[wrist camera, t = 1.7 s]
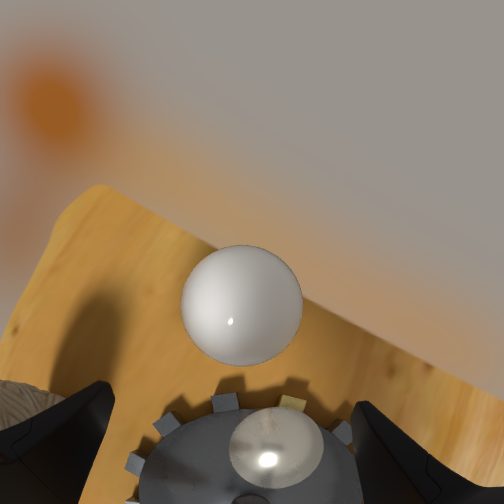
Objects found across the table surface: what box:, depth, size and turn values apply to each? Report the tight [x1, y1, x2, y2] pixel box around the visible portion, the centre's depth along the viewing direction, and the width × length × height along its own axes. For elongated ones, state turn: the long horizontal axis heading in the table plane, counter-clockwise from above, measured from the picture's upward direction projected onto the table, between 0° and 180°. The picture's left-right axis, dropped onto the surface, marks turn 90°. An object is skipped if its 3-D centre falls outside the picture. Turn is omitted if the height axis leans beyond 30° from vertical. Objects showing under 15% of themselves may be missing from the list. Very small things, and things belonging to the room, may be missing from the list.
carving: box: [0, 380, 66, 431], centre depth 11 cm, size 6×8×12 cm
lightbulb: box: [181, 245, 303, 367], centre depth 16 cm, size 6×6×11 cm
